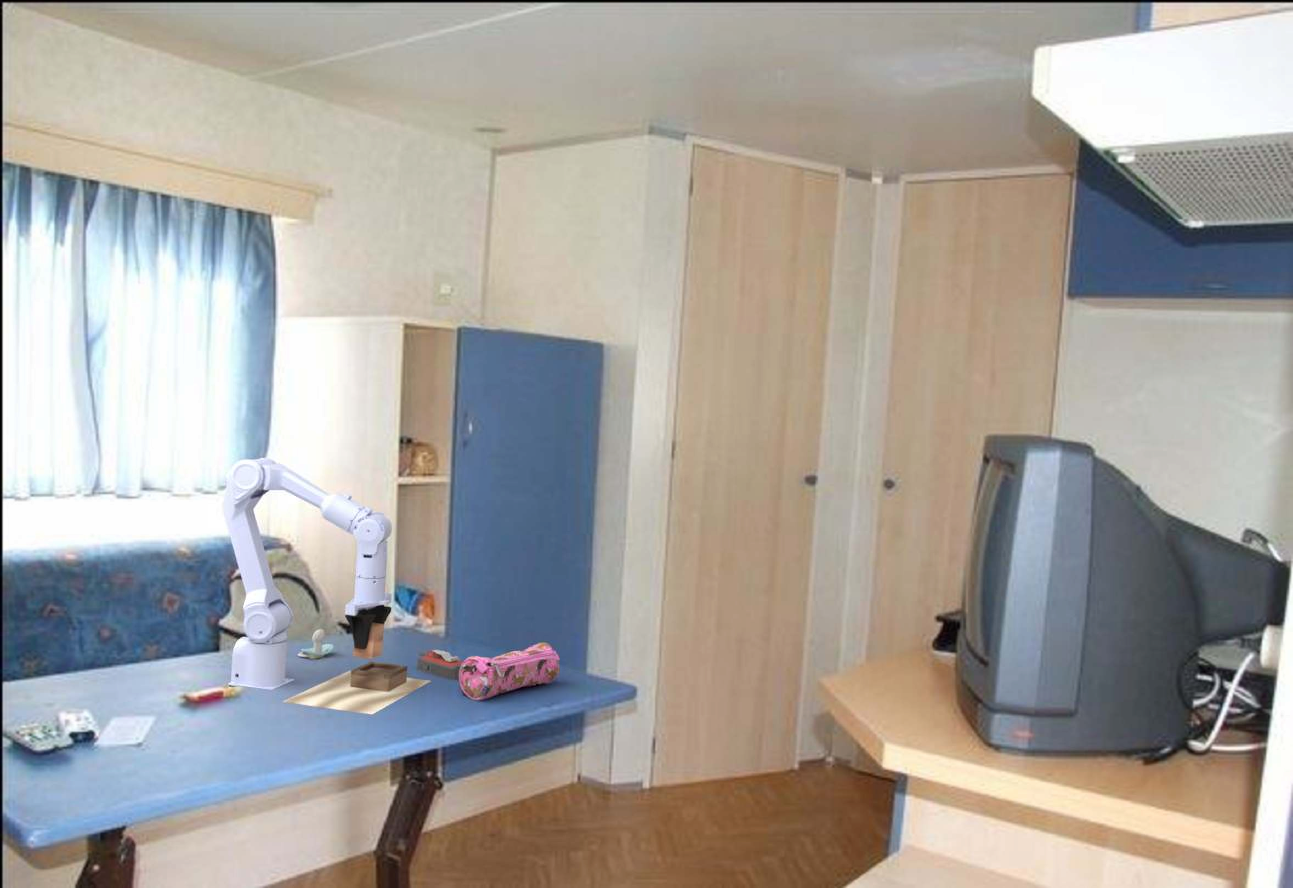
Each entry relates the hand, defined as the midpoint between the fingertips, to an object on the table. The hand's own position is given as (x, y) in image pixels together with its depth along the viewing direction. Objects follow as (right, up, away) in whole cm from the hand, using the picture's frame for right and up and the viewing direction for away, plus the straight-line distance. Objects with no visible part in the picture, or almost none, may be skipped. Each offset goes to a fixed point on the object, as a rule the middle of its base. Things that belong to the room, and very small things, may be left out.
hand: (366, 645), depth 198 cm
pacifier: (-18, -8, +25) cm, 32 cm away
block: (0, -2, 0) cm, 2 cm away
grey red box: (+9, -10, +22) cm, 26 cm away
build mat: (-1, -9, -1) cm, 9 cm away
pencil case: (+27, -11, +8) cm, 30 cm away
